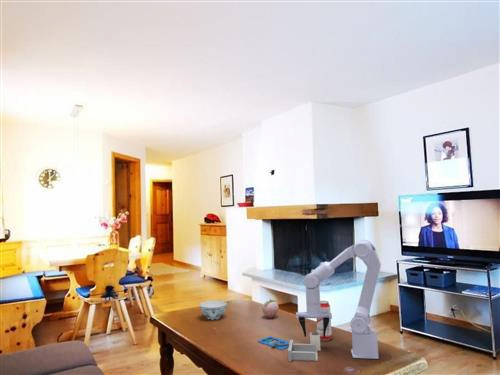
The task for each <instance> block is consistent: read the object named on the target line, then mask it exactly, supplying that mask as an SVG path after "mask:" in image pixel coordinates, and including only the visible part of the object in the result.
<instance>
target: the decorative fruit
mask: <svg viewBox="0 0 500 375" xmlns="http://www.w3.org/2000/svg"><path fill="white" fill-rule="evenodd" d="M279 308H280V307H279V305H278V303H277V300H275V299H269V300H267V301H264V302H263V304H262V306H261V309H262V313H263V314H264V315H265V316H266V317H268V318H270V319H271V318H273V317H275V316H276V314H278V311H279Z"/></svg>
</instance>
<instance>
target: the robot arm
mask: <svg viewBox="0 0 500 375" xmlns="http://www.w3.org/2000/svg"><path fill="white" fill-rule="evenodd" d="M354 258H358V259H360V260H361V261H362V262H363V264H365V267H366V271H365V276H364V280H363V283H362V288H361V291H360V292H361V293H360V295H359V301H358V304H357V308H356V311H355V314H354V316H353V317H352V318H351V320H350V328H351V342H352V343H351V344H352V348H350V352H351V355H352V358H353V359H372V360H373V359H375V360H377V359H380V357H379V344H378V336H377V335H378V334H377V331H374V330H371V328H370V326H369V325H370V323H371V315H370V313H371V308H372V304H373V299H374V295H375V291H376V286H377V282H378V279H379V274H380V271H381V268H382V266H381V265H382V264H381V263H382V262H381V260H380V258H379V255H378V253H377V248H376V247H375V246H374V244H373V243H372V242H371V241H370V240H368V239H362V240H360V241H358V242H356V243H355V244H352V245H351V246H349V247H347V248H345V249H344V250H343V251H342V252H340V253H339V254H338V255H337V256H336V257H334V258H333V259H332V260H331V261H324V262H323V261H322V262H320V263H319V265H318V266H317V267H316V268H315V269H314V268H313V269H311V271H310V272H309V273H307V274H306V275H305V276H304V278H303V283H304V286H305V299H306V300H305V301H306V302H305V304H306V305H305V306H306V311H303V312H295V319H298V321H299V325H300V326H301V329H302V331H303V335H304V337H306V338H307V329H306V327H307V326H306V319H316V318H323V337H325V333H326V329H327V326H328V324H329V319H331V320H333V314H332V312H330V313H324V312H321V308H320V301H321V294H320V284H322V283H323V282H324V281H325V280H327V279H329V277H331V276H333V274H335V269H336V268H338V267H339V266H340V265H341V264H343V263H344V262H345V261H347V260H349V259H354Z"/></svg>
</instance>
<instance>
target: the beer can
mask: <svg viewBox="0 0 500 375" xmlns="http://www.w3.org/2000/svg"><path fill="white" fill-rule="evenodd" d="M320 308H321V312H324V313H331V305H330V303H329V301H328V300H320ZM315 319H316V332H320V341H325V342H327V341H330V340H331V339H332V337H333V335H332V334H333V333H332V332H333V331H332V319H329V324H328V326H327V329H326V333H325V337H323V318H315Z"/></svg>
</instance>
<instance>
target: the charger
mask: <svg viewBox="0 0 500 375" xmlns="http://www.w3.org/2000/svg"><path fill="white" fill-rule="evenodd" d="M309 341H310V342H309V344H315V346H316V351H317V352H319V351H320V352H321V350H322V349H321V340H320V332H317V331H315V332H314V331H313V332H312V331H310V332H309Z"/></svg>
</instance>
